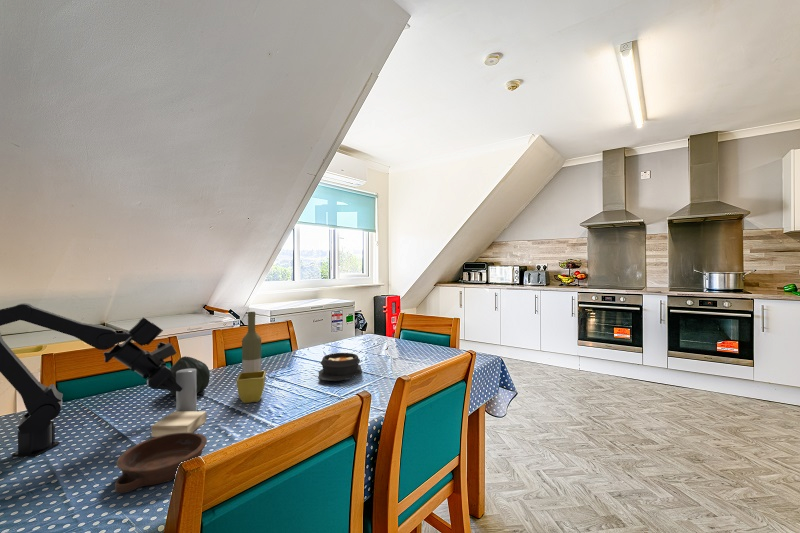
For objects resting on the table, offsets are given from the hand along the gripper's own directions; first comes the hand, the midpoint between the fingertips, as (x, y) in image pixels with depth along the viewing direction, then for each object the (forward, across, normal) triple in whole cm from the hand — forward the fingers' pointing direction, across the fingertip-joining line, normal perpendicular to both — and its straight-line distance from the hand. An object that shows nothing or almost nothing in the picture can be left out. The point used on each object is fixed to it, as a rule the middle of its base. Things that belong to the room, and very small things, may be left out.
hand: (178, 386), depth 114 cm
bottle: (+25, +9, -11) cm, 29 cm away
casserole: (+50, +3, -36) cm, 62 cm away
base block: (+6, -10, +8) cm, 14 cm away
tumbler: (+8, 0, +5) cm, 10 cm away
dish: (+1, -32, +12) cm, 34 cm away
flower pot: (+23, -1, -9) cm, 24 cm away
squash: (+12, +22, +2) cm, 25 cm away
